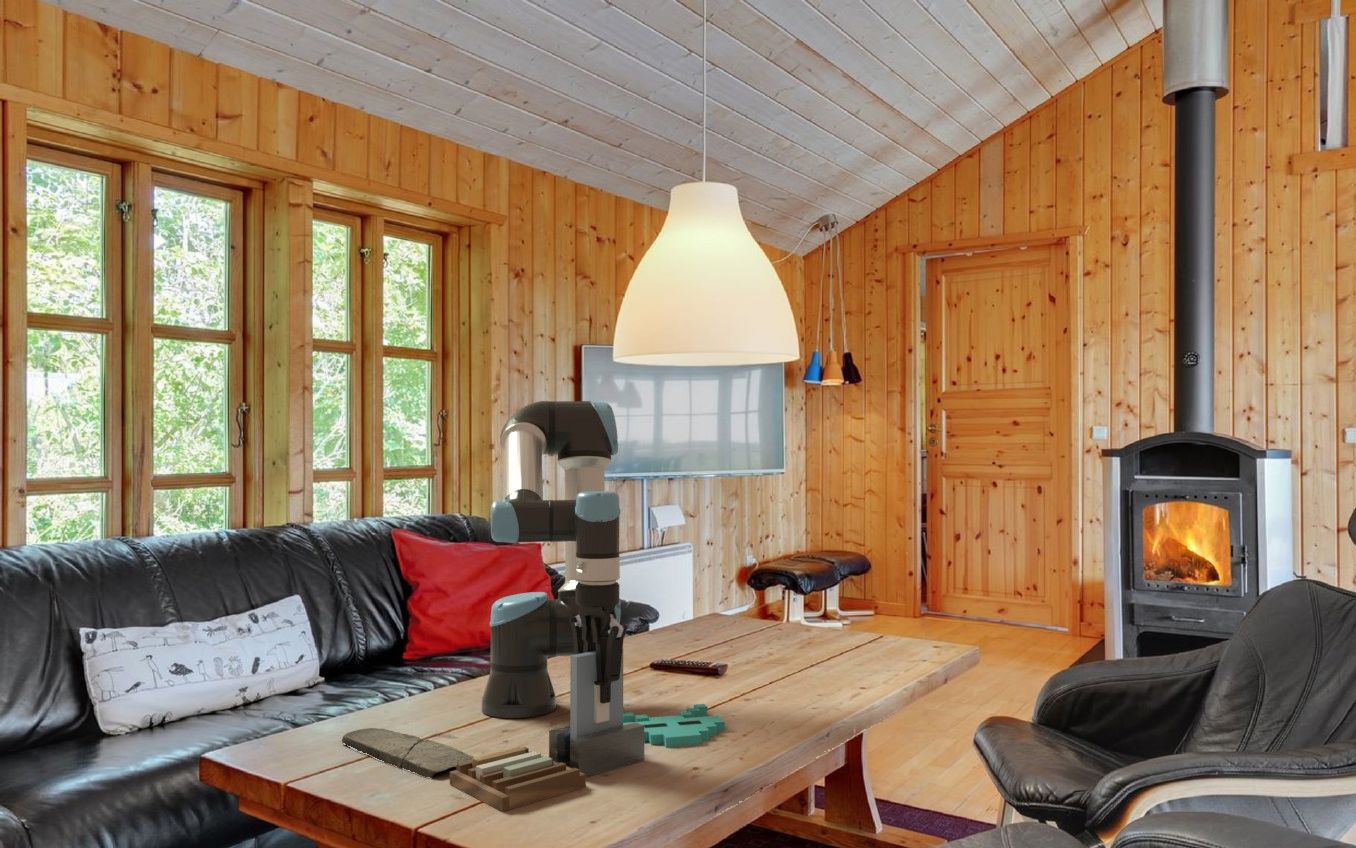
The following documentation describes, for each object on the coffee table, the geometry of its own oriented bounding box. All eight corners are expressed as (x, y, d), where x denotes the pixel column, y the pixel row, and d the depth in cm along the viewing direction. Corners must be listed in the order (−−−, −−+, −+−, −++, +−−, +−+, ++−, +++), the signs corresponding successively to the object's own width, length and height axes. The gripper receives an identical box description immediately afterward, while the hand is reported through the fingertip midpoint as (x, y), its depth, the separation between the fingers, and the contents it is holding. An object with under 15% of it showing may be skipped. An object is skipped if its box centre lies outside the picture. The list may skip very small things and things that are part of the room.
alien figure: (607, 722, 191) (629, 753, 172) (607, 711, 191) (629, 740, 172) (704, 714, 197) (736, 744, 177) (704, 703, 197) (736, 731, 177)
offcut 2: (475, 791, 152) (475, 766, 152) (534, 775, 159) (534, 751, 160) (481, 794, 151) (481, 769, 151) (540, 778, 158) (540, 753, 158)
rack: (449, 784, 155) (449, 765, 155) (530, 763, 165) (530, 745, 165) (502, 811, 143) (502, 791, 143) (585, 787, 154) (585, 768, 154)
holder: (549, 766, 163) (549, 731, 163) (613, 749, 173) (613, 715, 173) (578, 779, 157) (578, 742, 157) (644, 760, 167) (644, 725, 167)
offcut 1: (472, 783, 156) (472, 758, 156) (519, 770, 162) (519, 746, 162) (477, 786, 154) (478, 761, 155) (525, 773, 160) (525, 749, 161)
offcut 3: (503, 793, 151) (503, 767, 151) (545, 781, 157) (545, 756, 157) (509, 796, 150) (509, 770, 150) (552, 784, 155) (552, 759, 155)
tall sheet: (570, 757, 162) (570, 655, 163) (616, 744, 169) (616, 647, 169) (576, 759, 161) (576, 657, 161) (623, 747, 168) (623, 648, 168)
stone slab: (385, 721, 183) (484, 748, 164) (385, 738, 183) (484, 767, 164) (335, 735, 176) (432, 764, 156) (335, 752, 176) (433, 784, 156)
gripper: (554, 579, 169) (553, 715, 168) (607, 588, 158) (606, 734, 157) (588, 575, 174) (588, 707, 173) (642, 584, 163) (642, 724, 162)
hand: (597, 719), depth 165 cm, fingers closed on tall sheet, 2 cm apart
